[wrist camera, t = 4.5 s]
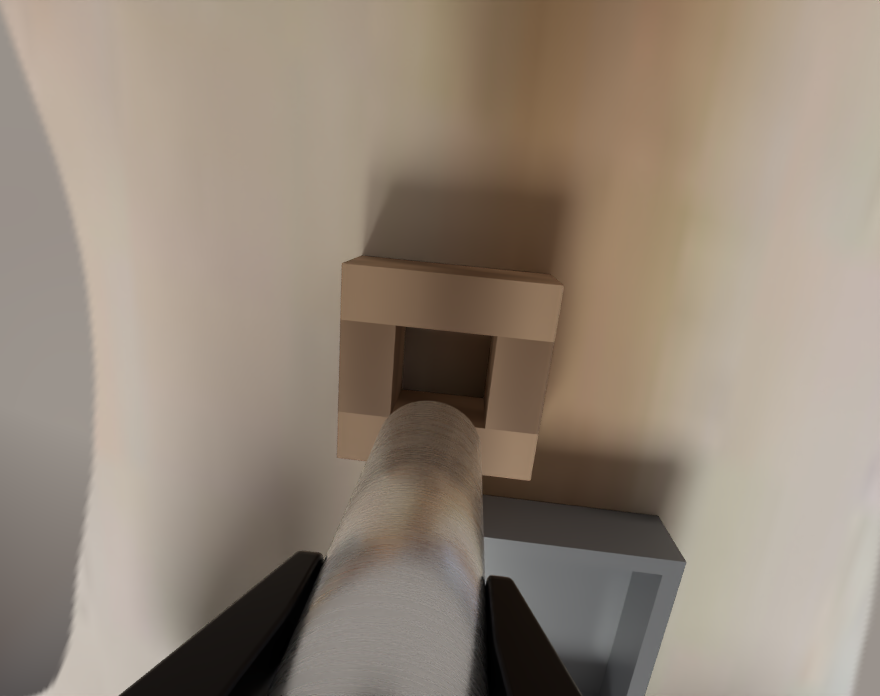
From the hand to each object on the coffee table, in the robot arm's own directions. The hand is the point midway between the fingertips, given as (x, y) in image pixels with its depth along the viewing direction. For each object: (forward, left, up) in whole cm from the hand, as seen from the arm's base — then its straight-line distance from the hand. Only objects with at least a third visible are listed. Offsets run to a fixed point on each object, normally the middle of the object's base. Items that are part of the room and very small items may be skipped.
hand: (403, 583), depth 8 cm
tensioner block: (0, 0, -13) cm, 13 cm away
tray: (+5, -13, -13) cm, 19 cm away
